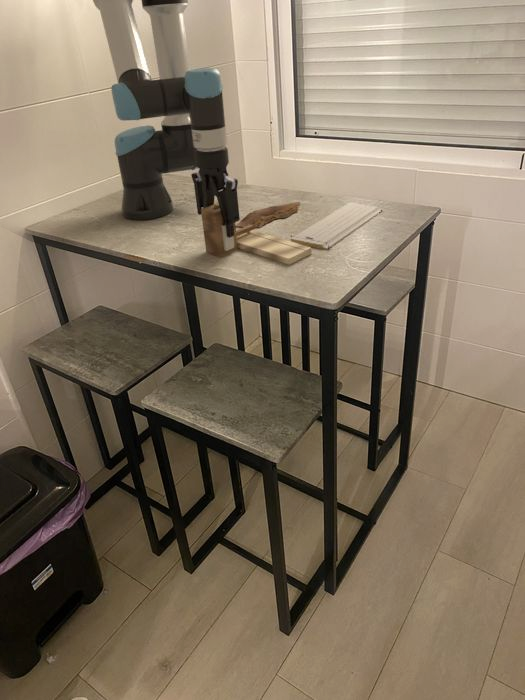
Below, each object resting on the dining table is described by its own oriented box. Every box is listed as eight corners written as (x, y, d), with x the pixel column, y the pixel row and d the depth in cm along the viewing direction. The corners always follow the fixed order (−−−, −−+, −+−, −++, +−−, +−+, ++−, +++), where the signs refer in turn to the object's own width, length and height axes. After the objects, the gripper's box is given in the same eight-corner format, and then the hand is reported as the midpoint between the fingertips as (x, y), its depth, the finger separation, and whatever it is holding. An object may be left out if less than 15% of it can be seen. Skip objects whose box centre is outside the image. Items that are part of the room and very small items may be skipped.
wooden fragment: (249, 233, 141) (248, 229, 140) (223, 224, 148) (223, 220, 148) (316, 208, 155) (316, 204, 154) (289, 200, 162) (289, 197, 161)
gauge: (206, 252, 131) (200, 206, 125) (246, 235, 139) (243, 191, 133) (219, 257, 128) (214, 210, 122) (260, 239, 136) (257, 194, 130)
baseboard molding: (387, 213, 148) (349, 207, 154) (388, 203, 146) (349, 197, 153) (332, 253, 127) (290, 244, 134) (332, 241, 126) (290, 233, 132)
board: (224, 243, 135) (224, 237, 134) (247, 233, 140) (246, 228, 139) (289, 264, 122) (288, 258, 121) (311, 253, 127) (311, 247, 126)
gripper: (172, 146, 121) (186, 242, 134) (225, 156, 110) (235, 260, 123) (197, 139, 126) (209, 233, 138) (250, 148, 115) (258, 249, 127)
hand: (221, 246), depth 131 cm, fingers closed on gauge, 5 cm apart
